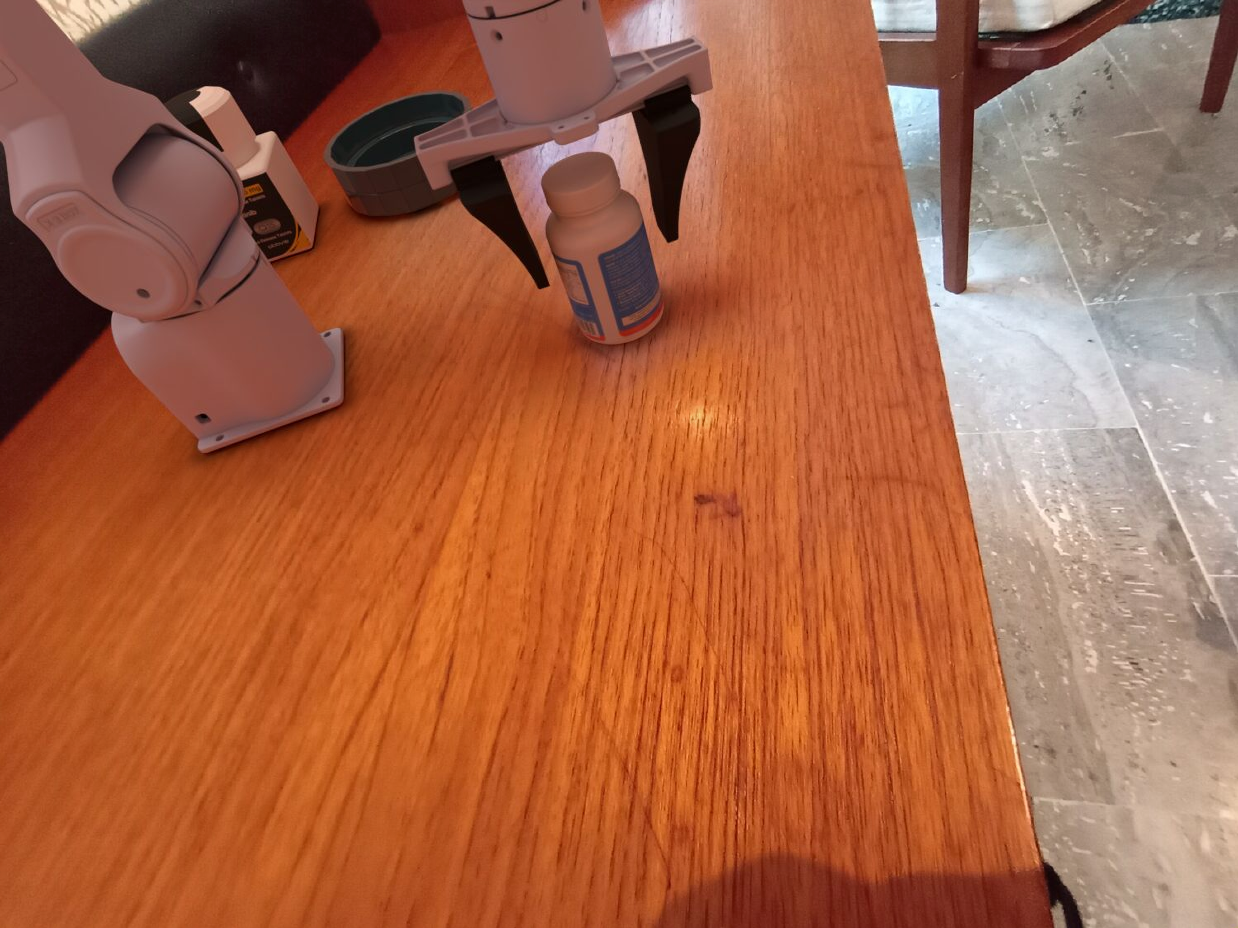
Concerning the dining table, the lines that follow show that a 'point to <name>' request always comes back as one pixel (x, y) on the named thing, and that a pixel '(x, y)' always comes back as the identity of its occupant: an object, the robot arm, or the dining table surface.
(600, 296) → the pill bottle
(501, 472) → the dining table surface
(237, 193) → the robot arm
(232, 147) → the medicine bottle
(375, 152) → the bowl
